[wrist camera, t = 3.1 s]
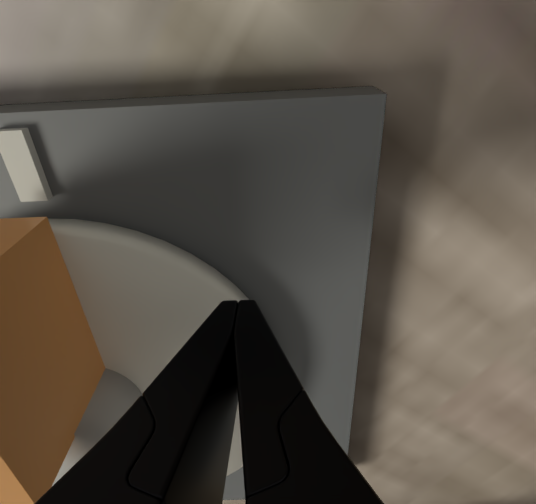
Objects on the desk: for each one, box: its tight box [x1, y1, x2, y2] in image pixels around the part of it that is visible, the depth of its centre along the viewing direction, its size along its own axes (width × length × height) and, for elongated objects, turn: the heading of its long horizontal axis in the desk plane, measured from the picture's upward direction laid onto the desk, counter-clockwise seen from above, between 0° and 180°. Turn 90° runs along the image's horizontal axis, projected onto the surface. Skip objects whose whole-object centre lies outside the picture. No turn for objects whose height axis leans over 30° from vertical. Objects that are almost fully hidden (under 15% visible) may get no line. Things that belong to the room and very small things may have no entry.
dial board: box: [0, 86, 387, 500], centre depth 16 cm, size 20×20×2 cm
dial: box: [0, 217, 249, 504], centre depth 12 cm, size 14×14×6 cm
